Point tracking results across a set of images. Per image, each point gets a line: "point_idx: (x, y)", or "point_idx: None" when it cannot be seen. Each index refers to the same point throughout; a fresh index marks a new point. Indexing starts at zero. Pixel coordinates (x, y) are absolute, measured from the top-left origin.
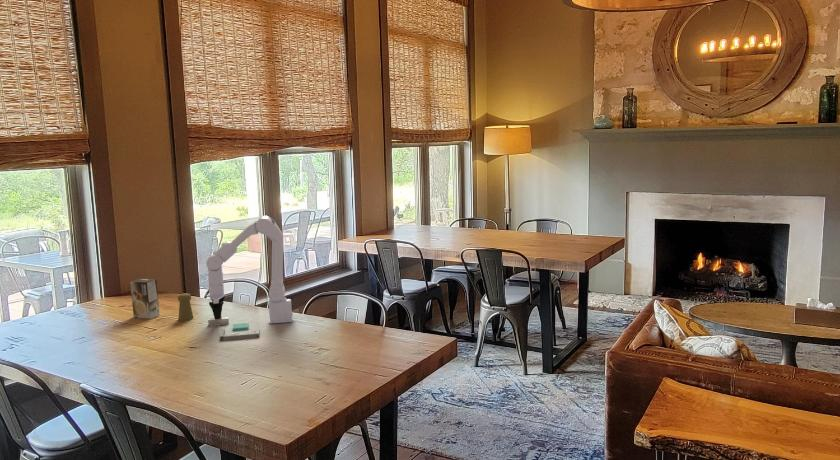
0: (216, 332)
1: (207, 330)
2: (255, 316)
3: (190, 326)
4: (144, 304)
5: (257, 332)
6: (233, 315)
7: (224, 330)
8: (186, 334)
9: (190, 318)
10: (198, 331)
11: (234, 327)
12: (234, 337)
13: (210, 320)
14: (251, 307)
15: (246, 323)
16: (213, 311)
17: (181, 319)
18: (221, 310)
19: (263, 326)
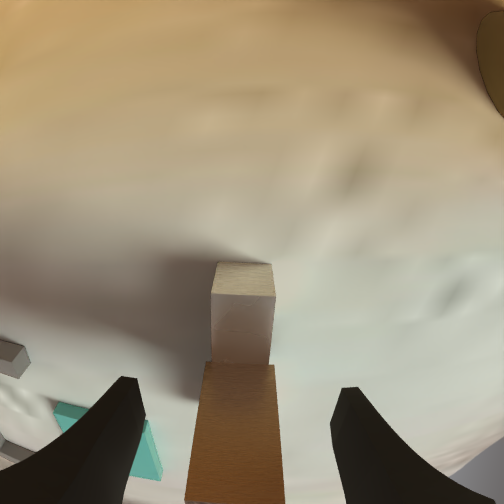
0: (25, 317)
1: (69, 255)
2: (329, 489)
3: (262, 68)
4: None
5: (3, 455)
6: (426, 410)
7: (2, 370)
8: (9, 83)
9: (500, 97)
10: (55, 175)
11: (73, 423)
12: None
13: (213, 314)
14: (488, 443)
15: (150, 474)
16: (64, 439)
17: (491, 20)
18: (334, 451)
19: (134, 493)
